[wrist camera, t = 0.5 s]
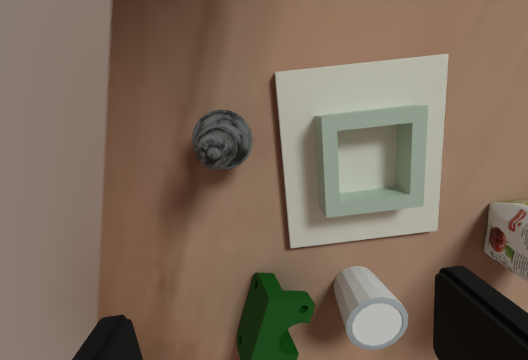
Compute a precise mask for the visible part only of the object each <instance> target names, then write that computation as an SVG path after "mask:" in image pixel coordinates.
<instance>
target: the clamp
mask: <svg viewBox="0 0 528 360" xmlns="http://www.w3.org/2000/svg"><path fill="white" fill-rule="evenodd" d="M314 308H315V304H314V302H313V301H312V299H311V297H310V296H309V294H308V293H307V292H305V291H283V290H282V288H281V287H280V285H279V283H278V281H277V279H276V277H275V275H274V274H273V273H255V274H254V276H253V280H252V283H251V287H250V290H249V294H248V298H247V301H246V305H245V308H244V312H243V316H242V319H241V323H240V326H239V330H238V334H237V348H238V352H239V356H240V360H297V357H298V354H299V353H298V351H297V349H296V347H295V345H294V342H293V340H292V338H291V336H290V334H289V332H288V328H289V327H291V326H293V325H295V324H298V323H310V320H311V317H312V314H313V311H314Z"/></svg>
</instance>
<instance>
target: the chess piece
mask: <svg viewBox="0 0 528 360" xmlns="http://www.w3.org/2000/svg"><path fill="white" fill-rule="evenodd" d="M252 141H253V139H252V133H251V130H250V128H249V126H248V124H247V123H246V121H245V120H244V119H243V118H242V117H240V116H239V115H238V114H236V113H234V112H231V111H228V110H216V111H212V112H210V113H207V114H205V115H204V116H203V117H202V118H201V119H200V120H199V121H198V123H197V124H196V126H195V128H194V131H193V139H192V142H193V146H194V150H195V152H196V154H197V158H198V159H199V161H200V162H201V164H202V165H204V166H205V167H207V168H209V169H215V170H217V169H222V170H226V169H232V168H234V167H236V166H239V165H240V164H241V163H242V162H244V161H245V160H246V158H247V157H248V155H249V154H250V151H251V148H252Z"/></svg>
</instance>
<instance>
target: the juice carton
mask: <svg viewBox="0 0 528 360" xmlns="http://www.w3.org/2000/svg"><path fill="white" fill-rule="evenodd" d="M484 252H485V253H486V254H487V255H489V256H490V257H492V258H493V259H494V260H496V261H497V262H498V263H500V264H501V265H503V266H504V267H505V268H507V269H508V270H510V271H511V272H513V273H514V274H516V275H518V276H519V277H521V278H522V279H524V280H525V281H527V282H528V199H523V200H514V201H505V202H496V203H490V205H489V211H488V224H487V232H486V237H485V244H484Z"/></svg>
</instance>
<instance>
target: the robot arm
mask: <svg viewBox="0 0 528 360" xmlns="http://www.w3.org/2000/svg"><path fill="white" fill-rule="evenodd" d="M433 347H434V351H435V353H436V355H437V357H438V359H439V360H528V313H527V312H525V311H524V310H523V309H521V308H520V307H519V306H517V305H516V304H515V303H513V302H512V301H511V300H509V299H508V298H506V297H505V296H504V295H502V294H501V293H500V292H498V291H497V290H496V289H494V288H493V287H492V286H490V285H489V284H487V283H486V282H485V281H483V280H482V279H481V278H479V277H478V276H477V275H475V274H474V273H473V272H471V271H470V270H468V269H467V268H466V267H464V266H454V267H447V268H442V269H441V270H440V271H439V274H437V275H436V276H435V299H434V335H433ZM72 360H143V358H142V355H141V351H140V348H139V344H138V341H137V337H136V334H135V331H134V327H133V324H132V321H131V320H130V319H126V317H125V316H124V315H117V316H110V317H104V318H101V320H100V321H99V322H98V323H97V325H96V326H95V328H94V329H93V331H92V332H91V333H90V335H89V336H88V338H87V339H86V341H85V342H84V344H83V345H82V346H81V348H80V349H79V351H78V352H77V353H76V355H75V356H74V358H73V359H72Z"/></svg>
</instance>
